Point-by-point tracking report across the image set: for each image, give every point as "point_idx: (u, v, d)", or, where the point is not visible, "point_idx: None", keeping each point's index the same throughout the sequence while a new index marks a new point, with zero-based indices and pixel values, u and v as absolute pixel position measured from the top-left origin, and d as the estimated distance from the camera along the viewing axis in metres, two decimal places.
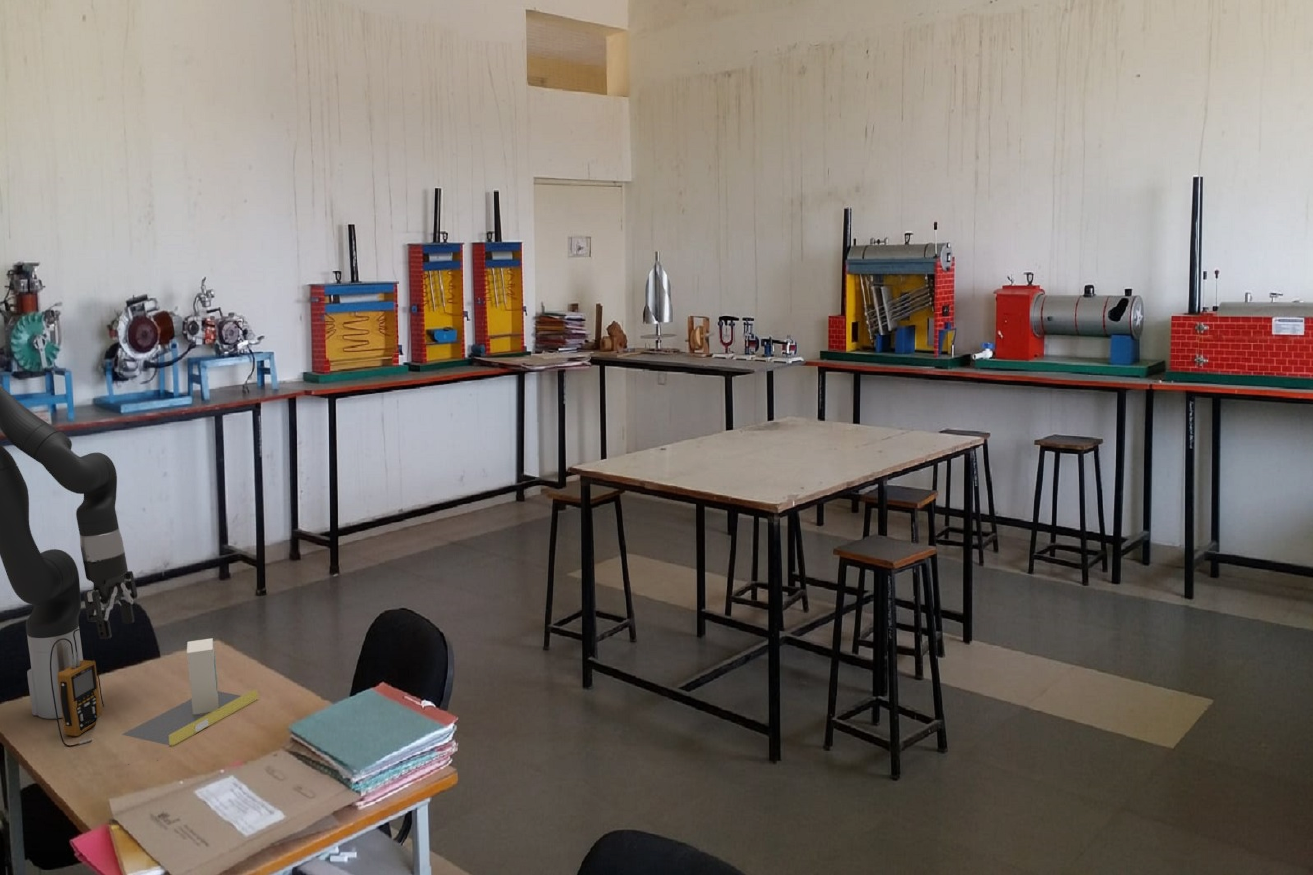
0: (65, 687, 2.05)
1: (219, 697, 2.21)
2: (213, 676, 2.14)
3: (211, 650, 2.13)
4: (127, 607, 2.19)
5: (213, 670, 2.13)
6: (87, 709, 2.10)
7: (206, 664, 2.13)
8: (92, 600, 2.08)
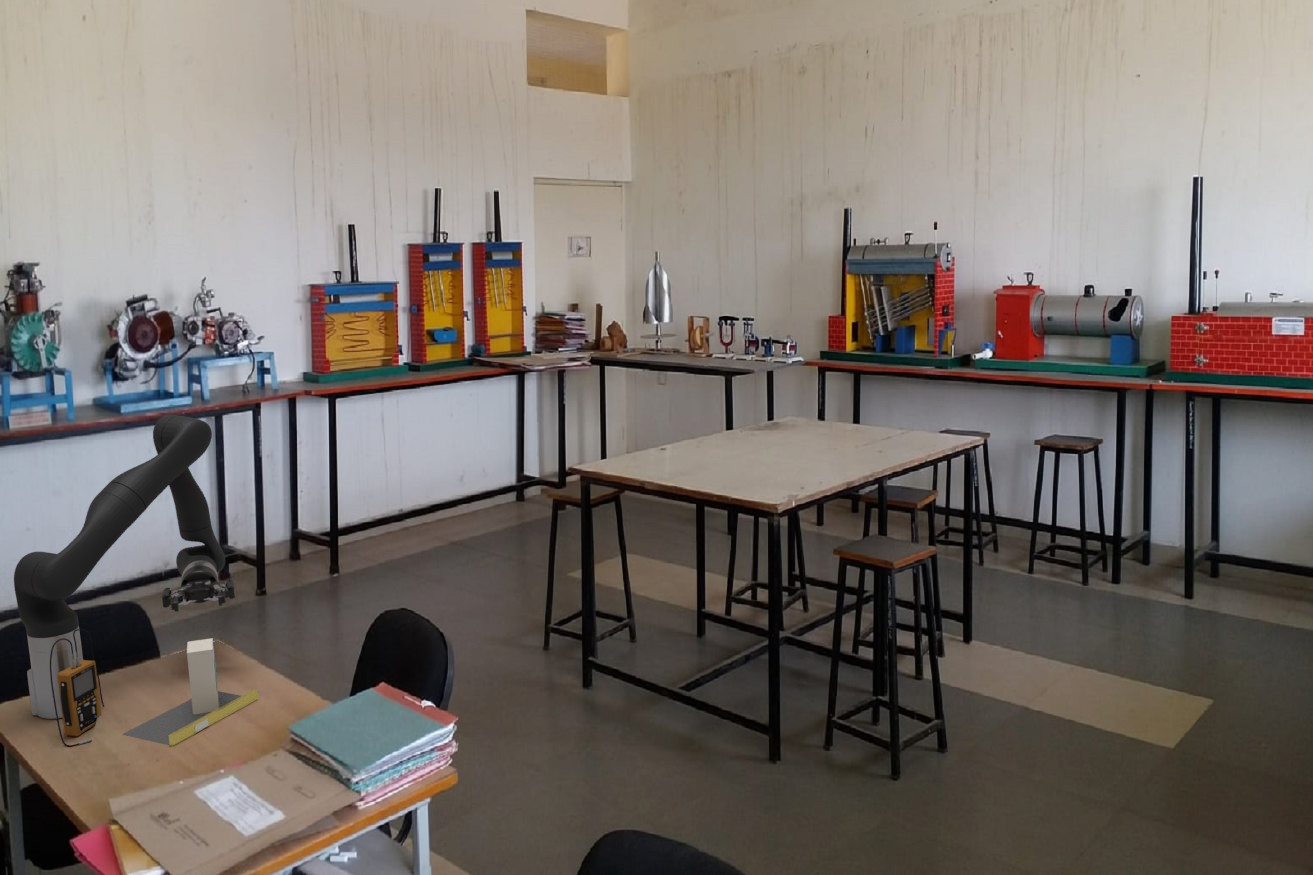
0: (65, 687, 2.05)
1: (219, 697, 2.21)
2: (213, 676, 2.14)
3: (211, 650, 2.13)
4: (178, 604, 2.26)
5: (213, 670, 2.13)
6: (87, 709, 2.10)
7: (206, 664, 2.13)
8: None
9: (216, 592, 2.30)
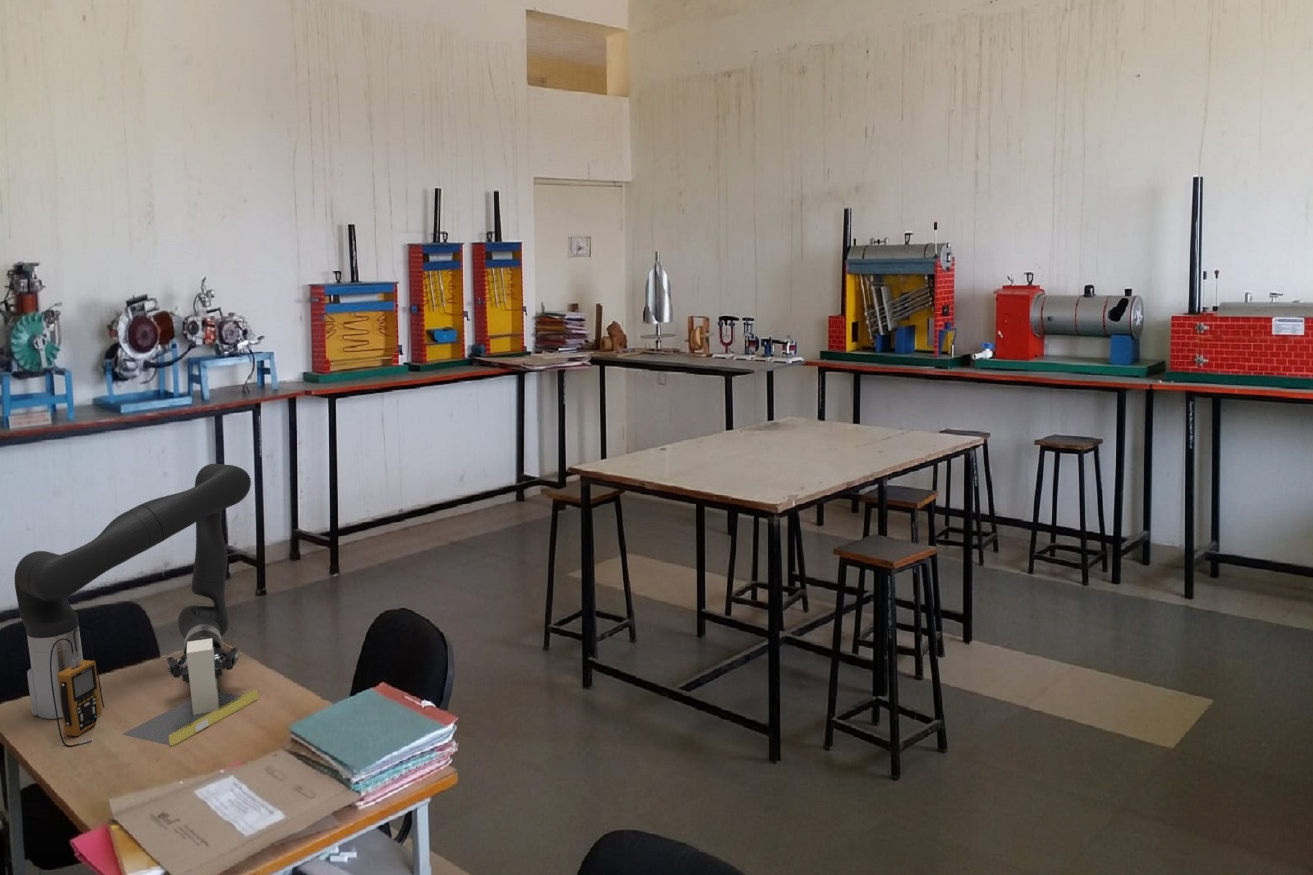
0: (65, 687, 2.05)
1: (219, 697, 2.21)
2: (213, 676, 2.14)
3: (211, 650, 2.13)
4: None
5: (213, 670, 2.13)
6: (87, 709, 2.10)
7: (206, 664, 2.13)
8: (236, 657, 2.23)
9: None
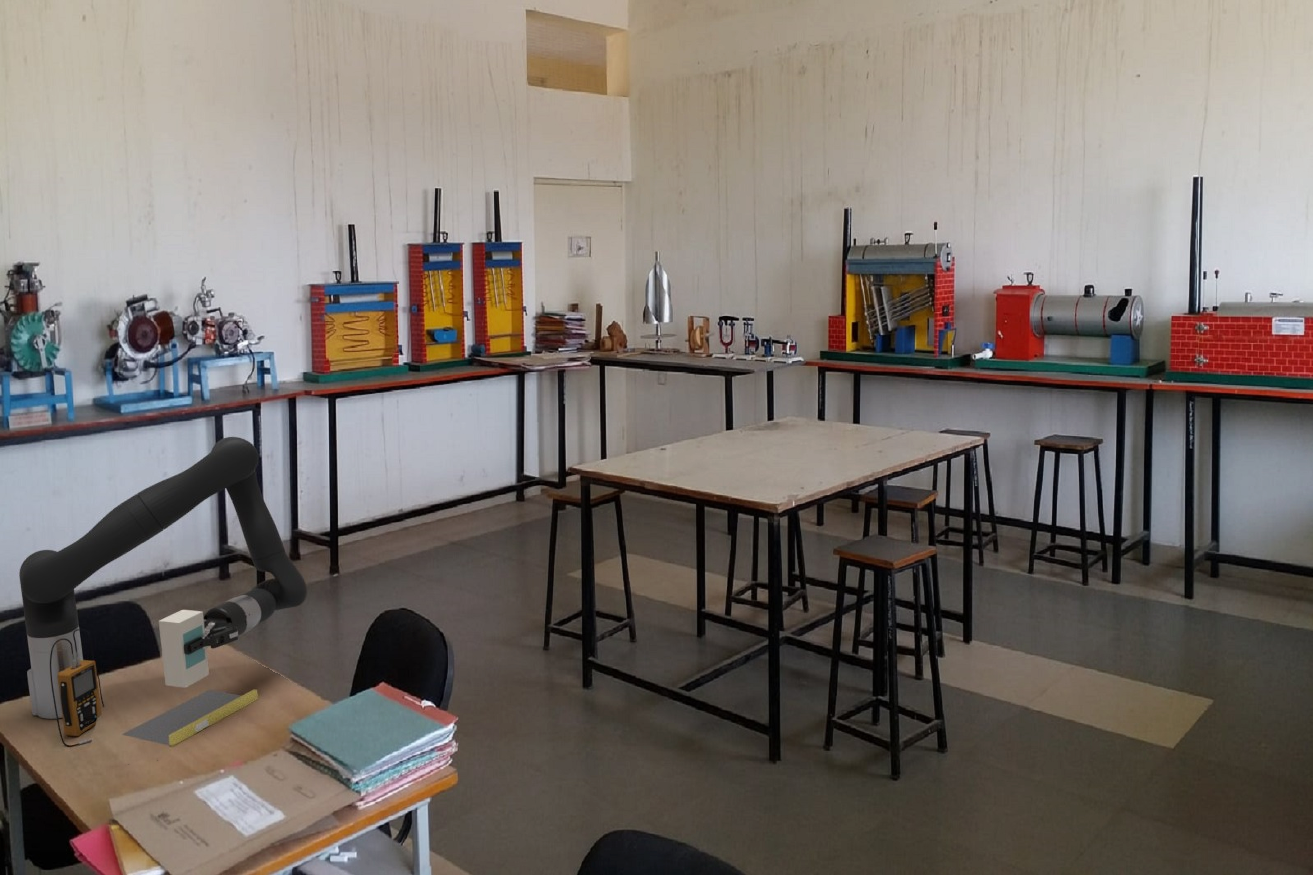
0: (65, 687, 2.05)
1: (219, 697, 2.21)
2: (180, 651, 2.03)
3: (178, 623, 2.02)
4: None
5: (180, 645, 2.03)
6: (87, 709, 2.10)
7: (174, 637, 2.03)
8: (231, 637, 2.10)
9: None
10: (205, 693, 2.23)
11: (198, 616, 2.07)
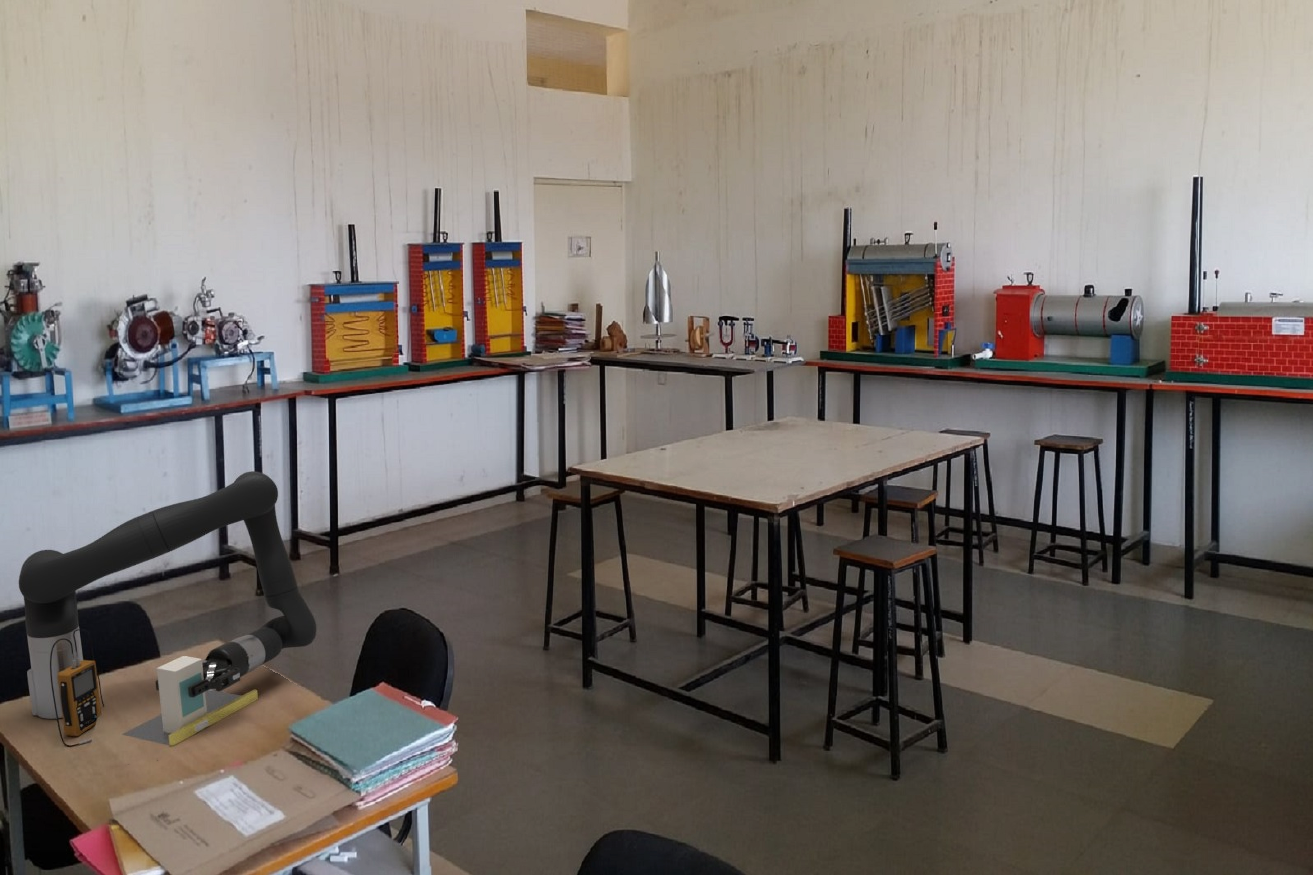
0: (65, 687, 2.05)
1: (219, 697, 2.21)
2: (176, 699, 2.03)
3: (174, 672, 2.02)
4: None
5: (176, 693, 2.03)
6: (87, 709, 2.10)
7: (171, 685, 2.03)
8: (235, 679, 2.10)
9: None
10: (205, 693, 2.23)
11: (196, 664, 2.07)
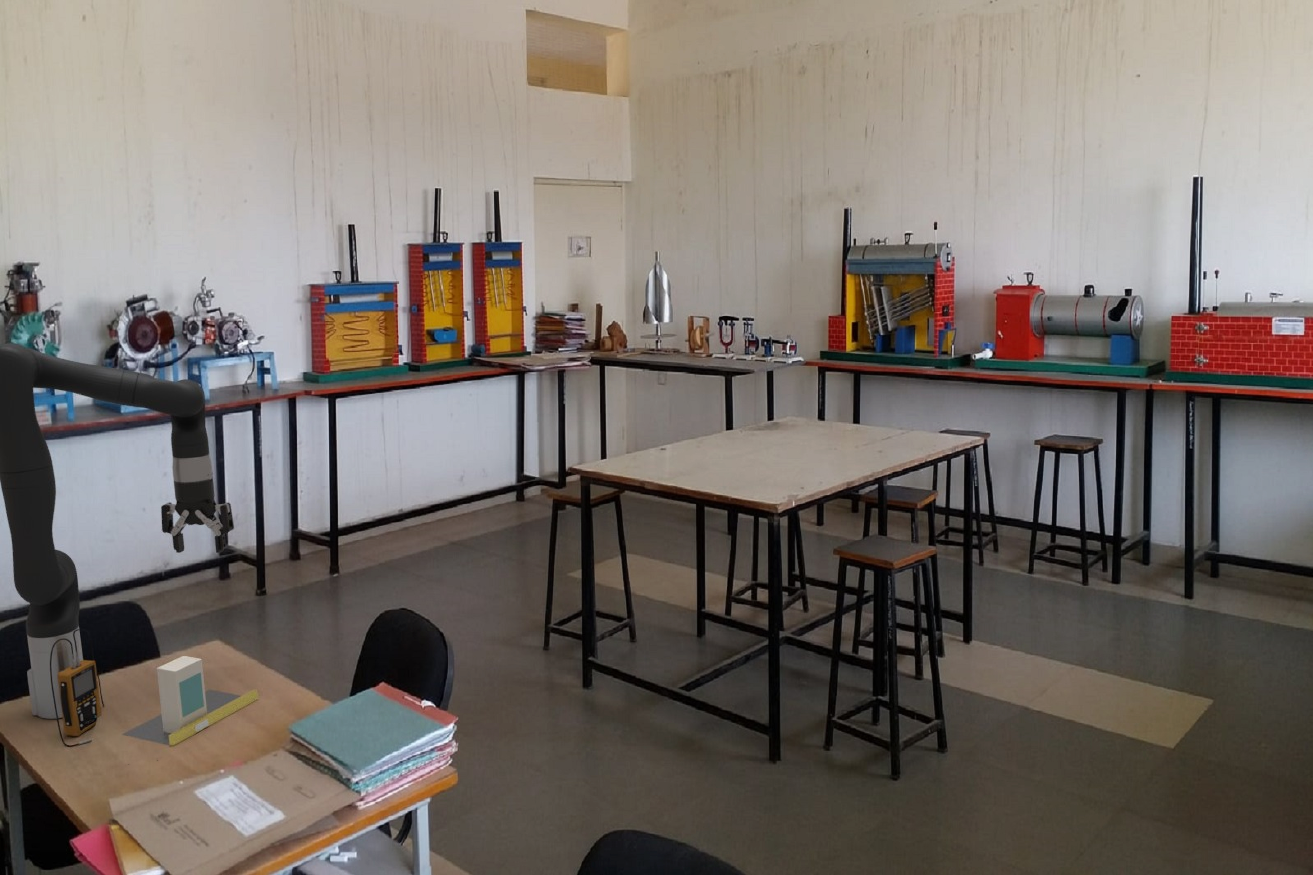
0: (65, 687, 2.05)
1: (219, 697, 2.21)
2: (176, 699, 2.03)
3: (174, 672, 2.02)
4: (181, 535, 2.25)
5: (176, 693, 2.03)
6: (87, 709, 2.10)
7: (171, 685, 2.03)
8: (229, 510, 2.23)
9: None
10: (205, 693, 2.23)
11: (196, 664, 2.07)
